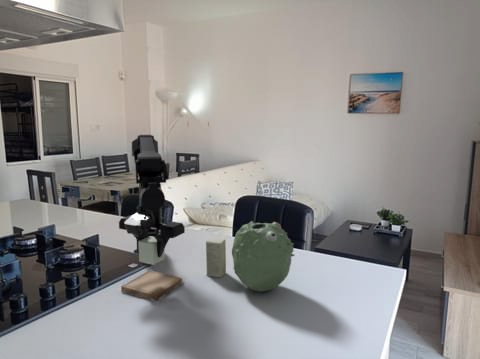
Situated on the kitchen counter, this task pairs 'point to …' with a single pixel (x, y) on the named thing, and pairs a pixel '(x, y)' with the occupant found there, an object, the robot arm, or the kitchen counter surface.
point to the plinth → (151, 285)
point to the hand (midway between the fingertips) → (151, 255)
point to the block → (149, 251)
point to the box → (216, 257)
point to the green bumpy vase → (262, 255)
